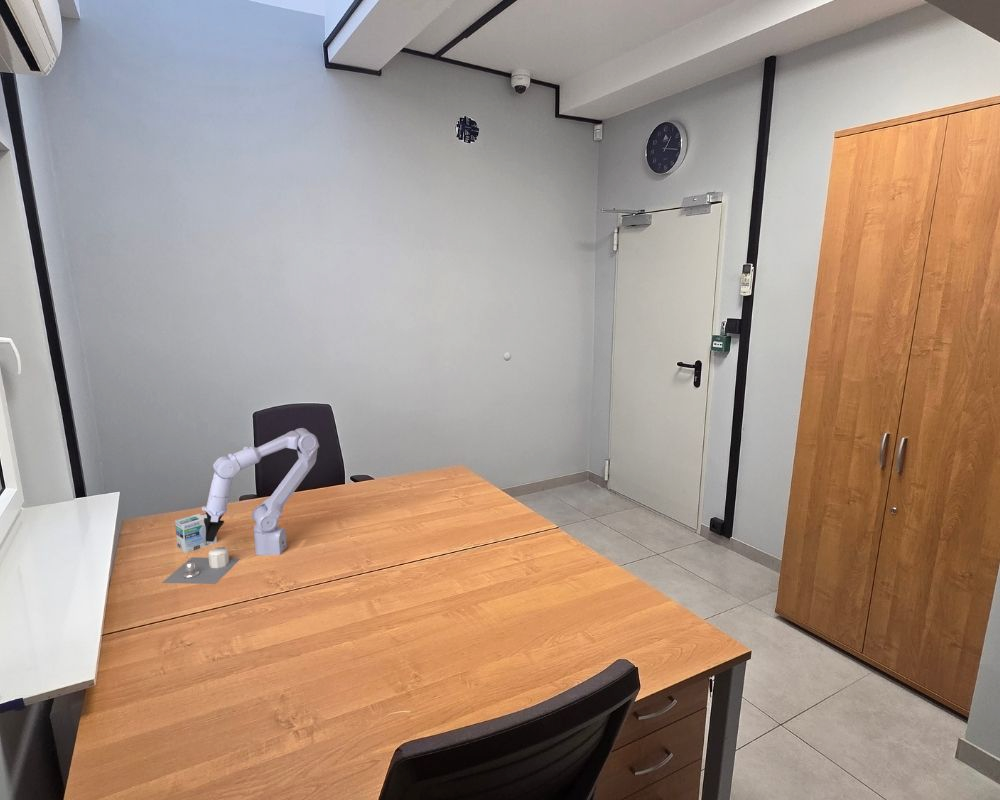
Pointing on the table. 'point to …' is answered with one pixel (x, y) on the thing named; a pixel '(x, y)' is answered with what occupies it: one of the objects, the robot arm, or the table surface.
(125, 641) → the table surface
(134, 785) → the table surface
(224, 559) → the cap
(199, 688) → the table surface
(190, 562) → the chrome cabinet knob
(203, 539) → the light bulb box
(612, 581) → the table surface
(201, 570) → the base plate
